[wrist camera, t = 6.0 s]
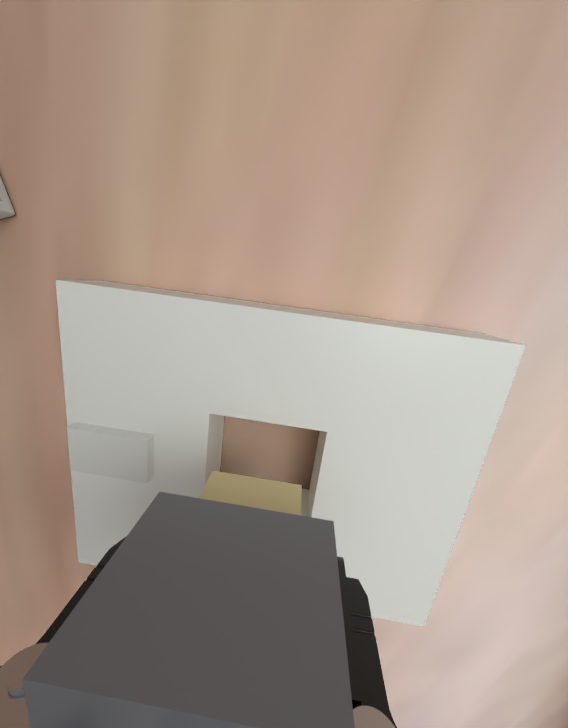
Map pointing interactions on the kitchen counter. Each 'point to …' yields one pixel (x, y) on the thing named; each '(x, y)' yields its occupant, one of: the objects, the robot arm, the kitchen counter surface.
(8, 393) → the kitchen counter surface
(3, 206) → the small box
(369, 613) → the robot arm
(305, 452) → the kitchen counter surface
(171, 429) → the socket plate
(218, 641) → the plug
